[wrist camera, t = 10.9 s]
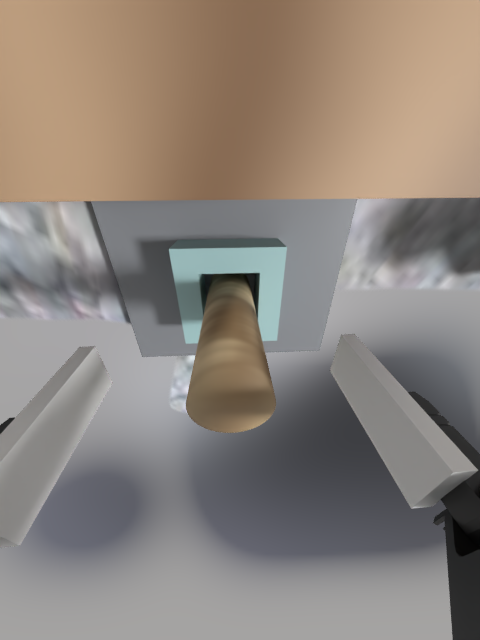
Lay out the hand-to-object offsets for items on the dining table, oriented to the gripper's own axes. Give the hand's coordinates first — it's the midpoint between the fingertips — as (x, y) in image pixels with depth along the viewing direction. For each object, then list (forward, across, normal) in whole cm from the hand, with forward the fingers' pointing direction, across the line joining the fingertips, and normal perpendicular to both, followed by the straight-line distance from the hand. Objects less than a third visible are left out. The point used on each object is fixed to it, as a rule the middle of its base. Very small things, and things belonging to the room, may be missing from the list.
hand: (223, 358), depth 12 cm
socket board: (+12, +1, +3) cm, 12 cm away
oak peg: (+11, +1, 0) cm, 11 cm away
